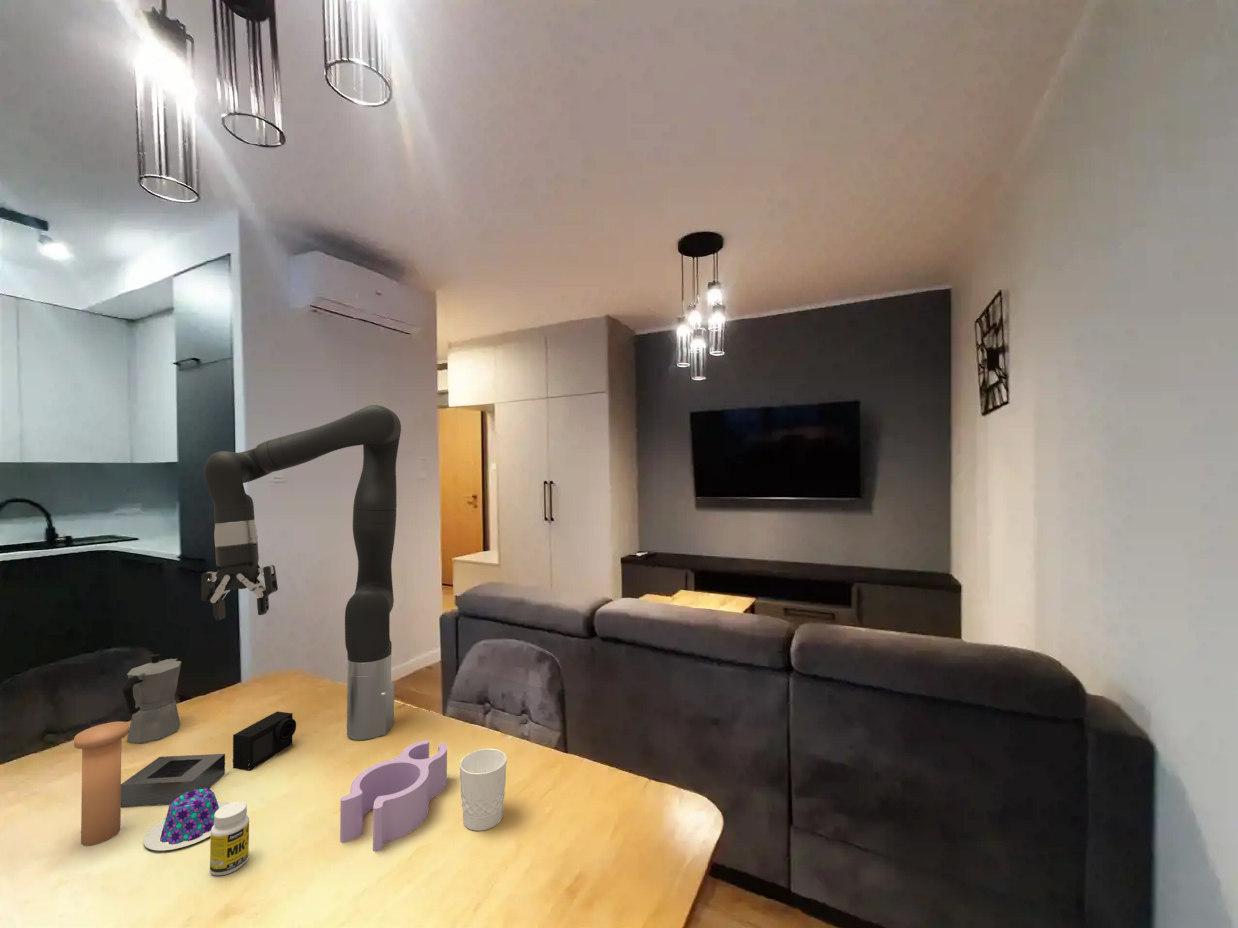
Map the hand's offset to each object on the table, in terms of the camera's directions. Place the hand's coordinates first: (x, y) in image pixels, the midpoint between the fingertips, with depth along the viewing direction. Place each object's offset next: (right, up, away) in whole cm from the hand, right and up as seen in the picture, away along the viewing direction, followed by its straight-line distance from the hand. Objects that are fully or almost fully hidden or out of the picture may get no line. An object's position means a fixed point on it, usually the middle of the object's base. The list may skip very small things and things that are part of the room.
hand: (241, 616), depth 113 cm
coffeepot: (-23, -28, +4) cm, 37 cm away
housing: (-1, -28, -15) cm, 32 cm away
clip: (+43, -29, -20) cm, 56 cm away
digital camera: (+8, -29, -4) cm, 30 cm away
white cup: (+59, -29, -23) cm, 69 cm away
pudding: (+10, -29, -25) cm, 39 cm away
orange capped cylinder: (-3, -28, -27) cm, 39 cm away
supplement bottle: (+23, -28, -33) cm, 49 cm away
